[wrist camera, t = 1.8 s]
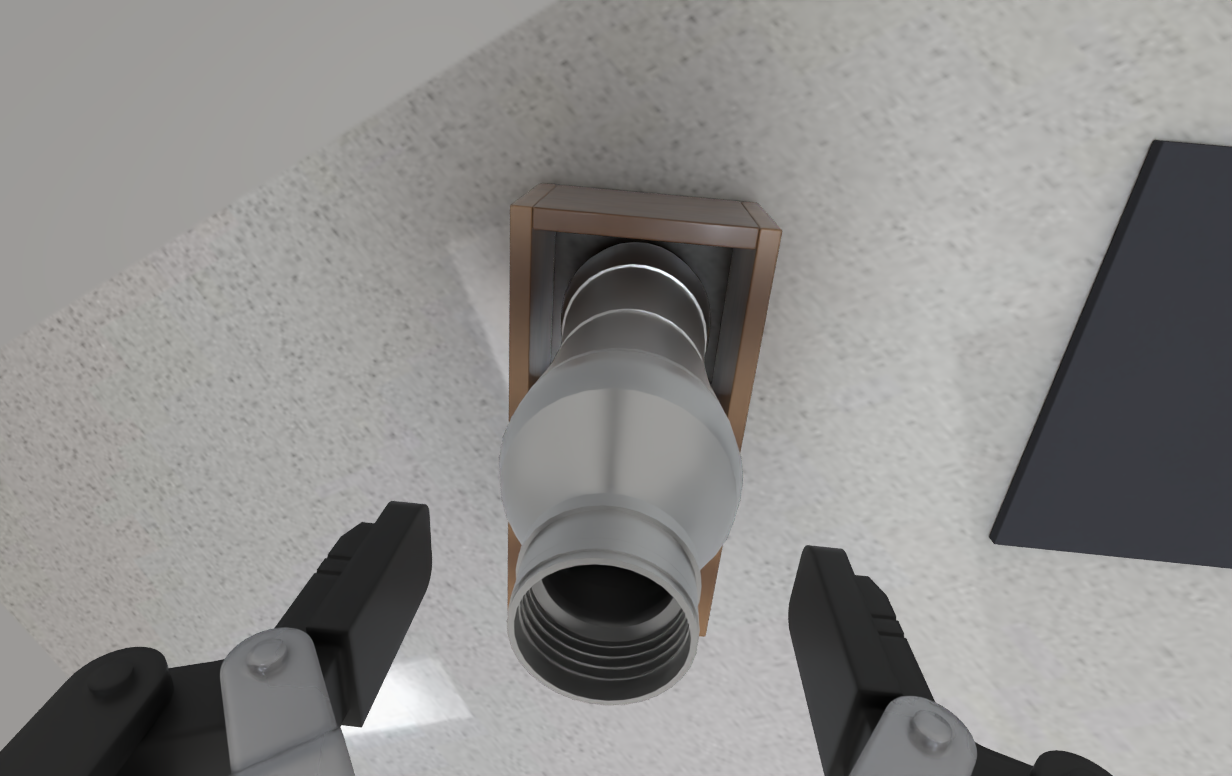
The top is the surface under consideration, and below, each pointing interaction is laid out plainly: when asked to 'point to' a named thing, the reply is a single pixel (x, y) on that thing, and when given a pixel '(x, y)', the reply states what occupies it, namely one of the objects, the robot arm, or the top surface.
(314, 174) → the top surface
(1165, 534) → the mat
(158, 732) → the robot arm
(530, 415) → the plastic bottle
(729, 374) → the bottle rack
